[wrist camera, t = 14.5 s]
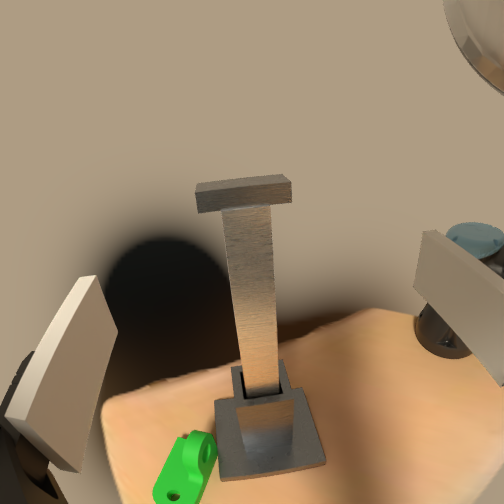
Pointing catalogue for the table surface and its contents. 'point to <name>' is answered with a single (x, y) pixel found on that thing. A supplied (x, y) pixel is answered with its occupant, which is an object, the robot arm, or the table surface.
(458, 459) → the table surface
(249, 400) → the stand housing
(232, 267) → the column
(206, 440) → the mechanical part
